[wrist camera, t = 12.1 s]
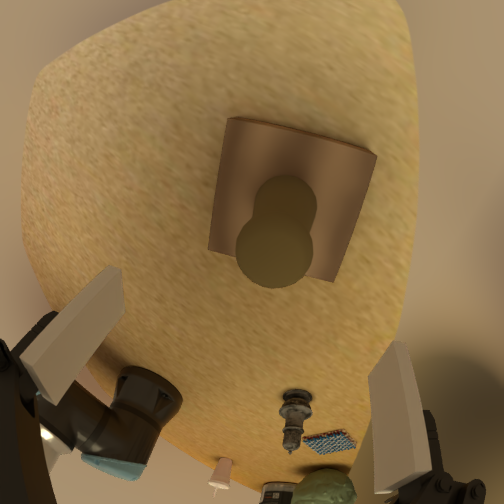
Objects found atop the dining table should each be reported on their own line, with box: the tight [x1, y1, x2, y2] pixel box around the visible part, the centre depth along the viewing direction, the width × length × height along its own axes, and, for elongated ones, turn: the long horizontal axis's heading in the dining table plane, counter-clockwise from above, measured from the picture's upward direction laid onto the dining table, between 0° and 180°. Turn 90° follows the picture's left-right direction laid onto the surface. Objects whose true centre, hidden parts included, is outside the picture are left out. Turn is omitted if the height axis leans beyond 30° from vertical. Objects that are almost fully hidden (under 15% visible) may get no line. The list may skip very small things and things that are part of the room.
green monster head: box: [291, 468, 357, 504], centre depth 56 cm, size 16×19×20 cm
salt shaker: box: [279, 389, 312, 454], centre depth 42 cm, size 6×6×12 cm
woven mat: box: [302, 429, 357, 455], centre depth 54 cm, size 10×11×2 cm
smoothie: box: [208, 458, 232, 497], centre depth 64 cm, size 6×6×14 cm
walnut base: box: [208, 117, 377, 283], centre depth 29 cm, size 14×14×4 cm
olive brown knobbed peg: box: [235, 175, 317, 288], centre depth 23 cm, size 6×6×11 cm
